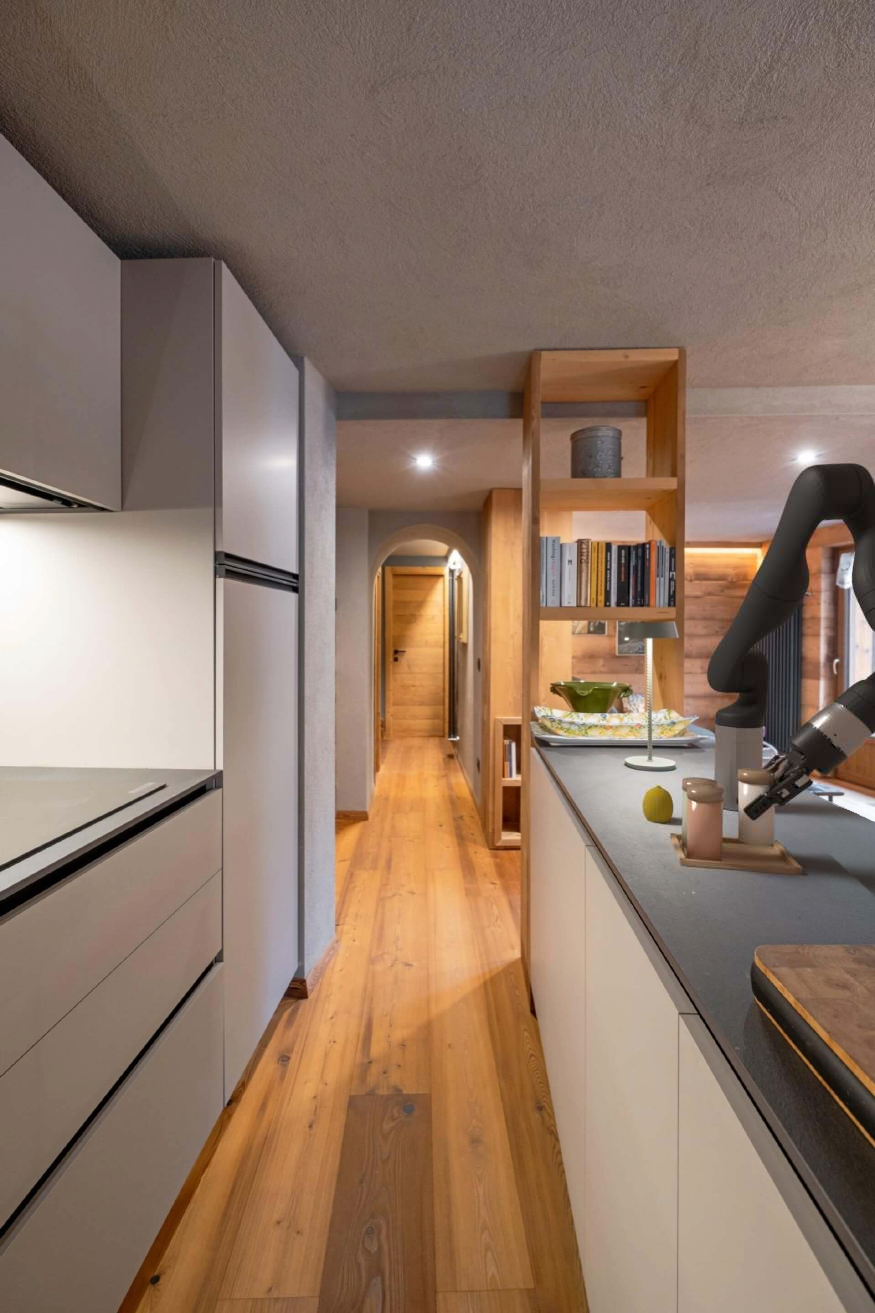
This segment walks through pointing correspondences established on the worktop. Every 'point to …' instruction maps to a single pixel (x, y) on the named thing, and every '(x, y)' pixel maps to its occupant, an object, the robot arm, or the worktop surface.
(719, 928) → the worktop surface
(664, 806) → the lemon
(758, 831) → the white jar
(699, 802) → the terracotta jar
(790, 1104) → the worktop surface
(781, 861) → the tray
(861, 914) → the worktop surface
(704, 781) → the sage jar
